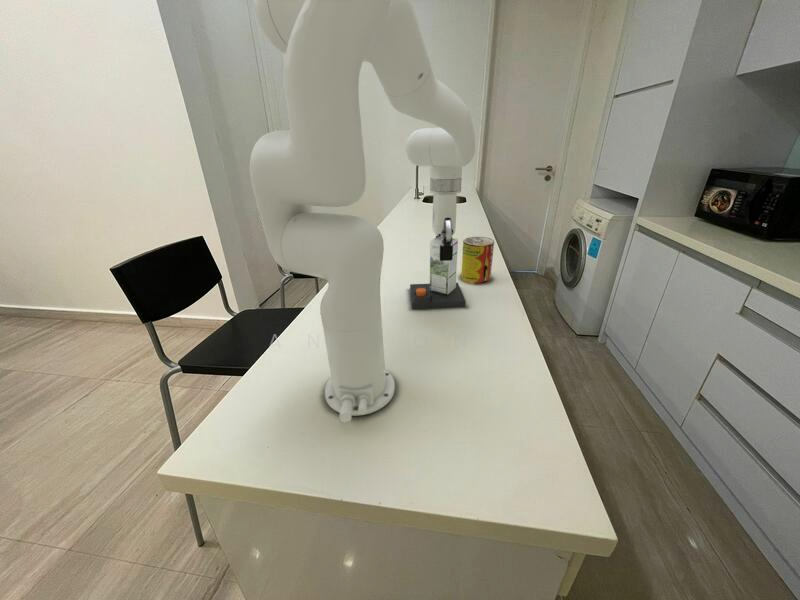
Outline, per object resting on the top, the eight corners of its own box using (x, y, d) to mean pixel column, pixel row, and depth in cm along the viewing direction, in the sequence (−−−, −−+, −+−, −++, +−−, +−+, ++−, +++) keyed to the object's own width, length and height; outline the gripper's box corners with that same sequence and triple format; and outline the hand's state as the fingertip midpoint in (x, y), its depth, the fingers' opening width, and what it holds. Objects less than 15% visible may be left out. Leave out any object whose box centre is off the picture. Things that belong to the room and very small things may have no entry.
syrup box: (456, 287, 94) (459, 237, 87) (447, 295, 89) (449, 243, 83) (438, 283, 96) (439, 235, 90) (428, 291, 92) (429, 240, 85)
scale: (465, 308, 86) (466, 296, 85) (411, 310, 86) (411, 298, 85) (457, 288, 98) (457, 277, 96) (409, 290, 98) (409, 279, 96)
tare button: (426, 297, 86) (426, 291, 86) (416, 297, 86) (416, 292, 86) (425, 292, 89) (425, 287, 88) (415, 293, 89) (415, 287, 88)
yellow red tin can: (470, 285, 99) (473, 247, 93) (456, 275, 107) (457, 238, 101) (496, 281, 101) (500, 243, 96) (480, 270, 109) (483, 235, 104)
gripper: (426, 181, 88) (426, 245, 96) (434, 192, 72) (433, 267, 80) (455, 180, 88) (452, 244, 96) (468, 190, 72) (463, 266, 80)
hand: (443, 254), depth 88 cm, fingers closed on syrup box, 7 cm apart
